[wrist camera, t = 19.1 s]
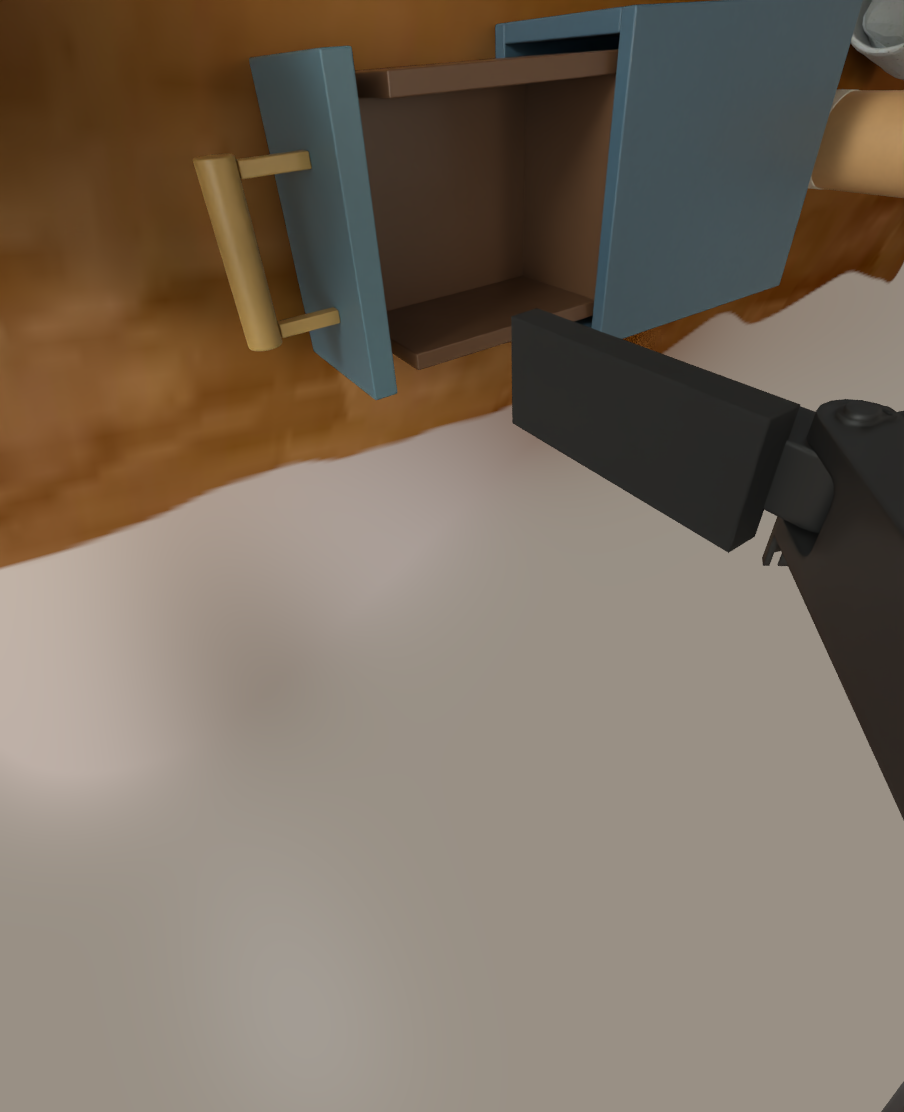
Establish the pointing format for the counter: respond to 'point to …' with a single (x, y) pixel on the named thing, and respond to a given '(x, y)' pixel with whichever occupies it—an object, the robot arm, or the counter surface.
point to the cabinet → (701, 143)
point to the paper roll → (863, 144)
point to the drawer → (420, 202)
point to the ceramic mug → (881, 34)
